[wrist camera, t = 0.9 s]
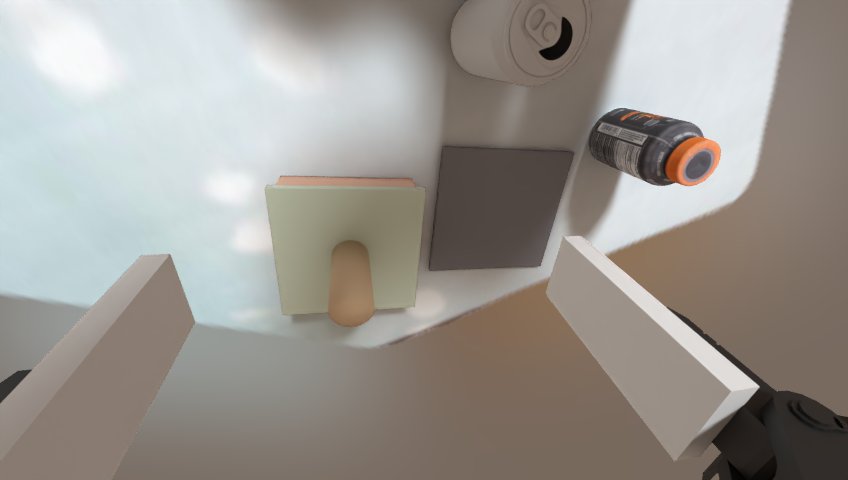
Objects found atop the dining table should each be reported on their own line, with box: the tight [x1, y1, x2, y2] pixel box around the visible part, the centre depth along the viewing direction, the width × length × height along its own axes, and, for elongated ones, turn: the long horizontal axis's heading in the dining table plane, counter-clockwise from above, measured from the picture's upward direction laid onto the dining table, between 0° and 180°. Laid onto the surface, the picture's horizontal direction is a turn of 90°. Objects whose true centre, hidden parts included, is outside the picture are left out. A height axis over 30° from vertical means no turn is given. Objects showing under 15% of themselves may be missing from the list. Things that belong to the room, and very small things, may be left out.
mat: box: [429, 146, 574, 271], centre depth 40 cm, size 15×15×1 cm
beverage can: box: [450, 0, 591, 86], centre depth 26 cm, size 6×6×12 cm
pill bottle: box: [589, 108, 721, 186], centre depth 33 cm, size 6×6×11 cm
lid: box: [265, 185, 426, 327], centre depth 31 cm, size 14×14×9 cm
